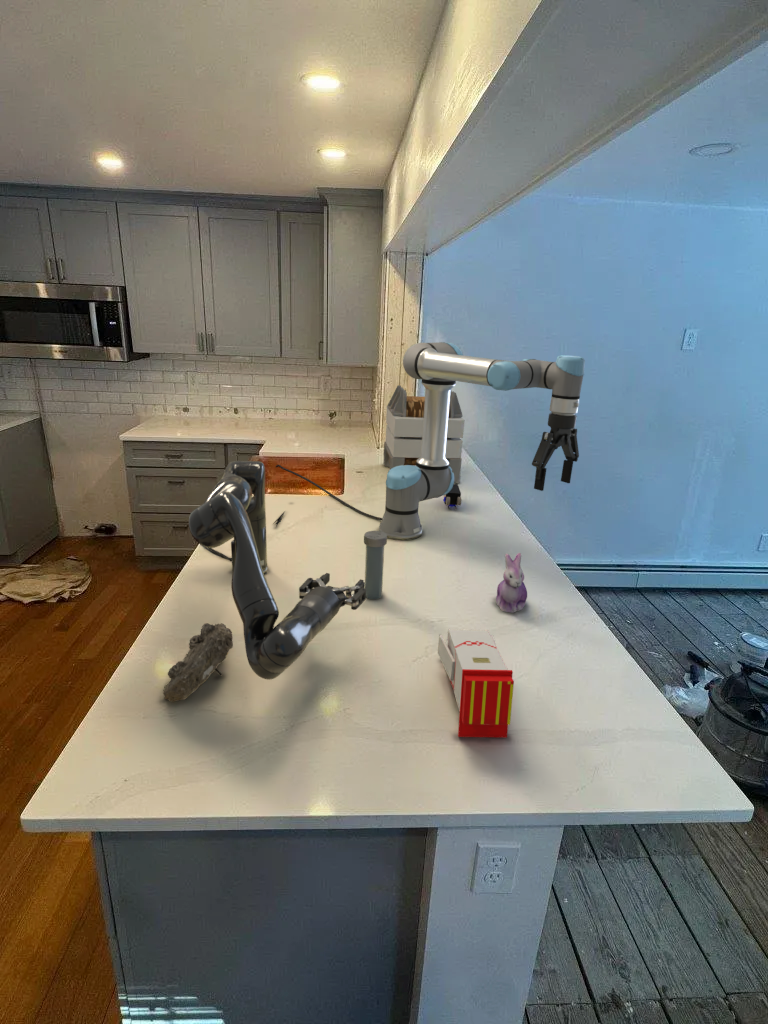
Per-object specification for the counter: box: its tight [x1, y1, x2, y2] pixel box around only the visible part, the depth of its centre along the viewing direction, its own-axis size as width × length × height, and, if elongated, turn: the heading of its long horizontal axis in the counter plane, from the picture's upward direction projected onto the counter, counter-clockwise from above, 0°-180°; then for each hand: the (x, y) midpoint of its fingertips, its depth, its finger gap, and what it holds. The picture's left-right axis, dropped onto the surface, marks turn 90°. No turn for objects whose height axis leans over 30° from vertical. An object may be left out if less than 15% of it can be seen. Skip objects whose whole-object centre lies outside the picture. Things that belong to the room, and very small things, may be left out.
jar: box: [364, 544, 385, 600], centre depth 154 cm, size 5×5×18 cm
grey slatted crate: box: [383, 384, 465, 484], centre depth 268 cm, size 34×33×41 cm
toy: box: [437, 628, 515, 738], centre depth 117 cm, size 12×13×30 cm
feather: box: [272, 510, 286, 528], centre depth 212 cm, size 2×28×2 cm
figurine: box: [495, 552, 528, 614], centre depth 152 cm, size 9×10×15 cm
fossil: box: [162, 622, 234, 703], centre depth 119 cm, size 22×10×15 cm
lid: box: [363, 530, 388, 547], centre depth 151 cm, size 6×6×2 cm
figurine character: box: [442, 483, 462, 510], centre depth 230 cm, size 7×8×15 cm
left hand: (344, 579), depth 133 cm, fingers open, 8 cm apart
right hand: (552, 485), depth 166 cm, fingers open, 13 cm apart
